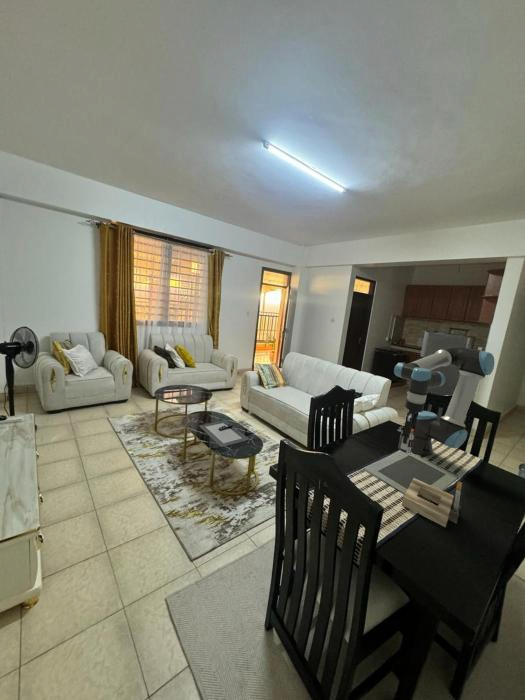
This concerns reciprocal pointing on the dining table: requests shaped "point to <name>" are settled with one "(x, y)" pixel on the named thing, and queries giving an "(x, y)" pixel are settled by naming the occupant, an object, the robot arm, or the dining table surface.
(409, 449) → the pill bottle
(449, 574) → the dining table surface
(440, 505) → the block
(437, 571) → the dining table surface
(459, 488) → the ring bar
